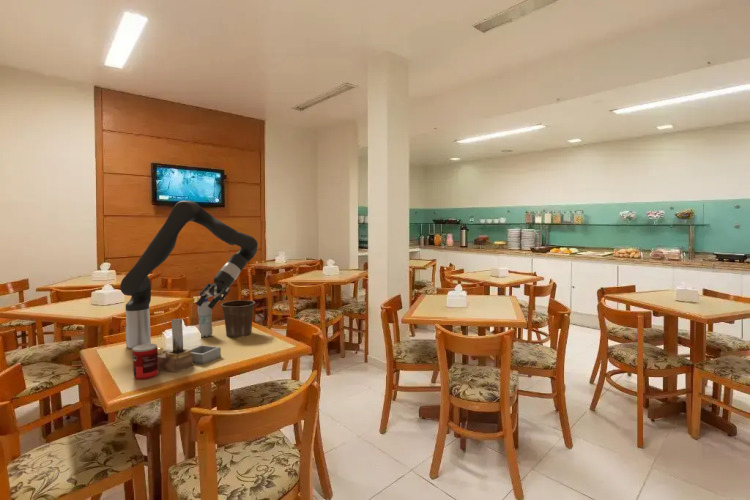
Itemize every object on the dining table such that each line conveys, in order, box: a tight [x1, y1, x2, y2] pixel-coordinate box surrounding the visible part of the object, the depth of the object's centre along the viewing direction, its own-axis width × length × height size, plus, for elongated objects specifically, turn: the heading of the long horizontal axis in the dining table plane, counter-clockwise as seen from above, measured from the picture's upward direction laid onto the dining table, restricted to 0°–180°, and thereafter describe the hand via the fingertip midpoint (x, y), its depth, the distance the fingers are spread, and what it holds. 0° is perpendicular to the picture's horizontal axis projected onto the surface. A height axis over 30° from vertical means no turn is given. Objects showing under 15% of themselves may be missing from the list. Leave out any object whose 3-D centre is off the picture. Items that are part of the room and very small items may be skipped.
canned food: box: [132, 343, 159, 381], centre depth 142 cm, size 8×8×11 cm
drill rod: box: [171, 318, 184, 354], centre depth 149 cm, size 4×4×14 cm
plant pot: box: [220, 299, 256, 338], centre depth 195 cm, size 16×16×16 cm
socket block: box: [158, 348, 194, 374], centre depth 151 cm, size 16×8×6 cm, turn 70°
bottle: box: [197, 297, 213, 338], centre depth 192 cm, size 7×7×20 cm
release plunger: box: [157, 347, 164, 355], centre depth 153 cm, size 3×3×6 cm
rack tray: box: [190, 344, 222, 365], centre depth 159 cm, size 10×10×4 cm
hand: (203, 306), depth 157 cm, fingers open, 8 cm apart
